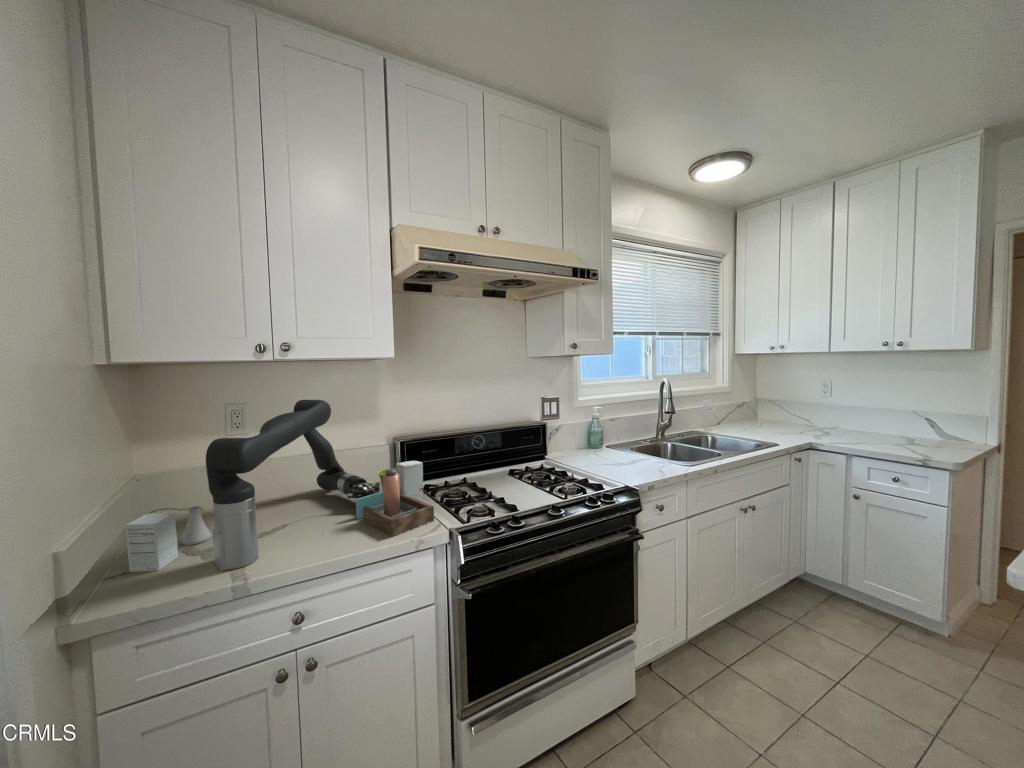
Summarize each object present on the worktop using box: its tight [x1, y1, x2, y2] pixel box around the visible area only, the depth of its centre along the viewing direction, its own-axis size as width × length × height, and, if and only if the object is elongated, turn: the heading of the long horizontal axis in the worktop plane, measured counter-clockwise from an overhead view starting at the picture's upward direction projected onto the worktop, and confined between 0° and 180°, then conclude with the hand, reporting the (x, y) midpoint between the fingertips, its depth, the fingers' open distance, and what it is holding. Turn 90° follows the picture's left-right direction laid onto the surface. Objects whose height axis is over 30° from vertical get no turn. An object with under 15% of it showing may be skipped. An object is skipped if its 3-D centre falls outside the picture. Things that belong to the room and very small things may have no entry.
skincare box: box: [395, 460, 424, 502], centre depth 155 cm, size 8×6×15 cm
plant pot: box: [377, 467, 396, 490], centre depth 165 cm, size 9×9×9 cm
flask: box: [179, 505, 213, 546], centre depth 124 cm, size 7×7×10 cm
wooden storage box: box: [362, 495, 435, 537], centre depth 137 cm, size 15×17×5 cm
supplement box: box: [124, 512, 179, 573], centre depth 110 cm, size 7×7×13 cm
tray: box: [355, 490, 419, 520], centre depth 141 cm, size 16×15×6 cm
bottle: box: [382, 468, 400, 517], centre depth 139 cm, size 5×5×15 cm
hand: (377, 495), depth 145 cm, fingers closed
